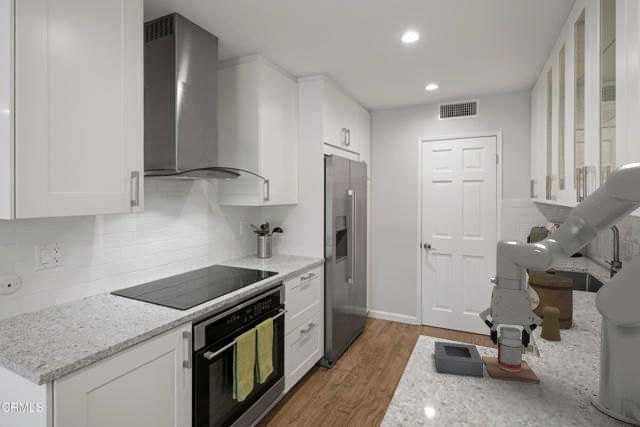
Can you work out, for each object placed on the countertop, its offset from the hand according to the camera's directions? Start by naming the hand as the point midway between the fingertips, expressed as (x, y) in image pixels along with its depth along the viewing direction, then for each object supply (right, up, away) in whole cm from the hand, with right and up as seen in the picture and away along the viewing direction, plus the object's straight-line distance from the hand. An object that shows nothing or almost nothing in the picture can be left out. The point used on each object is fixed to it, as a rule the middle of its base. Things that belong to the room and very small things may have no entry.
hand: (509, 343), depth 99 cm
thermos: (+57, -5, +78) cm, 96 cm away
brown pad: (0, -8, 0) cm, 8 cm away
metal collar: (-14, -8, +4) cm, 16 cm away
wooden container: (+37, -6, +39) cm, 54 cm away
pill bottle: (0, -7, 0) cm, 7 cm away
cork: (+27, -7, +23) cm, 37 cm away
